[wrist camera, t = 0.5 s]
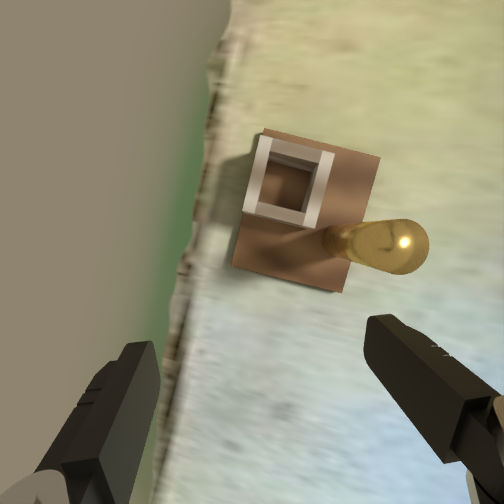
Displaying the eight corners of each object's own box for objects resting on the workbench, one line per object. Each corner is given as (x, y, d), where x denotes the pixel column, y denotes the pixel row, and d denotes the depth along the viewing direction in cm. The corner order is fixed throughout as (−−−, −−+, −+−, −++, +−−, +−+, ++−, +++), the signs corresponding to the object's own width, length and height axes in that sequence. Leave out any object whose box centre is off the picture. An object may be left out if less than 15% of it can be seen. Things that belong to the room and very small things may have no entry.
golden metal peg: (326, 220, 32) (382, 212, 18) (358, 228, 32) (436, 226, 18) (318, 252, 33) (366, 267, 19) (349, 259, 33) (419, 280, 19)
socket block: (263, 131, 32) (265, 112, 27) (376, 159, 32) (398, 146, 27) (231, 264, 34) (227, 270, 29) (339, 291, 34) (353, 301, 29)
